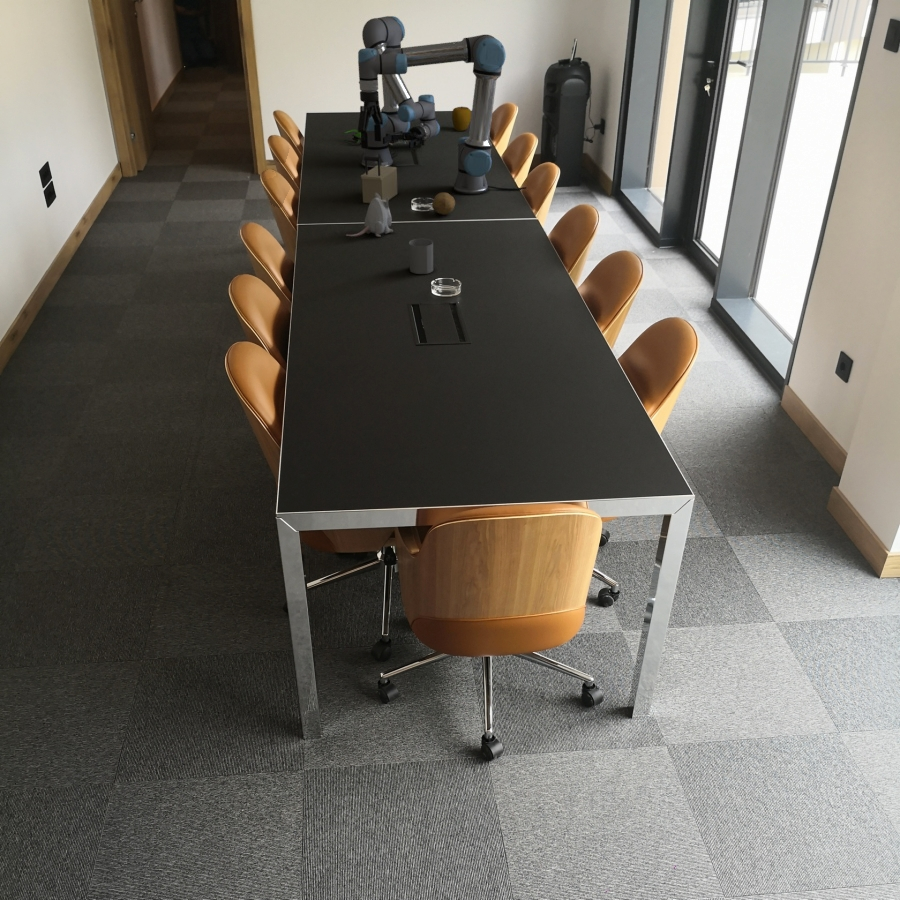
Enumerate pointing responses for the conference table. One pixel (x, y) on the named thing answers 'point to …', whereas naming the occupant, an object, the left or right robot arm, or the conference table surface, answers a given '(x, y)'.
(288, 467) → the conference table surface
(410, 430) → the conference table surface
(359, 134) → the green dinosaur
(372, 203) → the toy
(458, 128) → the apple
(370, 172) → the lid
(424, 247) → the cup
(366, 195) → the chest
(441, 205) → the potato
